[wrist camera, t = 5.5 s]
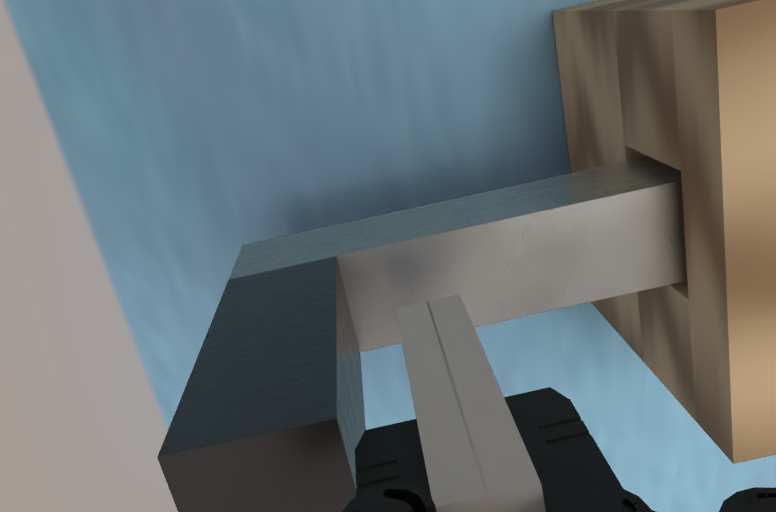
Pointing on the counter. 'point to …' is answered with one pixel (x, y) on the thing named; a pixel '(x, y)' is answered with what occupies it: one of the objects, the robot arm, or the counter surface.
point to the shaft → (392, 319)
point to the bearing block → (691, 190)
